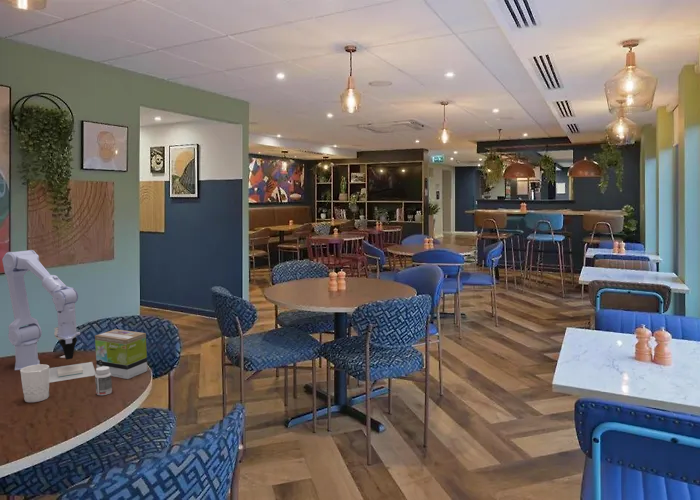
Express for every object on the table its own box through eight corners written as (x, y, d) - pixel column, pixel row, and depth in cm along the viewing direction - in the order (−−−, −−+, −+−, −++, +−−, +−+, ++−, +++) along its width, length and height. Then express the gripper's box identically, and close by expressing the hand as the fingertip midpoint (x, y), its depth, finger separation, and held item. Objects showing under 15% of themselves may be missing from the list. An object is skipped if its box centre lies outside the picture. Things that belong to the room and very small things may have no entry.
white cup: (56, 396, 171) (54, 366, 170) (33, 405, 164) (30, 373, 163) (40, 392, 174) (38, 363, 173) (16, 401, 167) (14, 370, 166)
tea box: (95, 374, 192) (93, 334, 190) (117, 366, 201) (115, 328, 200) (127, 380, 186) (125, 338, 185) (148, 371, 195) (146, 331, 194)
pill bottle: (115, 391, 175) (114, 366, 174) (104, 396, 171) (103, 371, 170) (104, 389, 177) (102, 365, 176) (92, 394, 172) (91, 369, 171)
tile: (57, 368, 194) (57, 373, 188) (81, 364, 198) (82, 369, 192) (57, 372, 194) (57, 377, 188) (81, 368, 198) (83, 373, 192)
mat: (44, 369, 198) (44, 368, 198) (92, 362, 206) (91, 361, 206) (45, 384, 182) (45, 383, 182) (96, 375, 191) (96, 375, 191)
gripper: (80, 324, 188) (83, 362, 189) (78, 316, 200) (80, 352, 202) (58, 327, 184) (60, 365, 186) (56, 319, 197) (58, 354, 198)
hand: (69, 358), depth 193 cm, fingers closed
